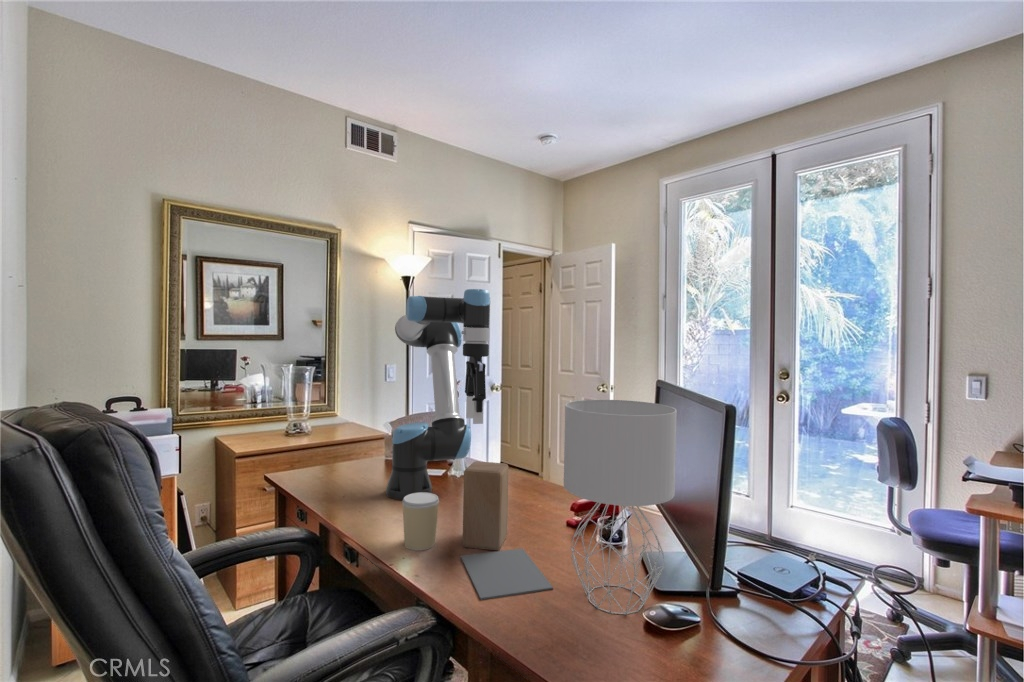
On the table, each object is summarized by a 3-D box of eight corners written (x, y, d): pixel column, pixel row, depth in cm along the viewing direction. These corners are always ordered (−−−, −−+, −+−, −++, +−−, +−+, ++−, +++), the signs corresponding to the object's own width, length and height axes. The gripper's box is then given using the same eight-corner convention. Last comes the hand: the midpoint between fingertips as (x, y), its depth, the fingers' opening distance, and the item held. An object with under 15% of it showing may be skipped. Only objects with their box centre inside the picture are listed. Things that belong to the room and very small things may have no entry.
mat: (460, 557, 119) (460, 555, 119) (522, 549, 124) (522, 548, 124) (480, 600, 100) (480, 598, 100) (553, 589, 105) (553, 587, 105)
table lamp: (561, 569, 114) (565, 398, 114) (659, 576, 112) (664, 401, 111) (560, 626, 92) (565, 412, 91) (684, 636, 89) (689, 417, 89)
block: (499, 552, 122) (501, 472, 122) (461, 548, 124) (462, 469, 124) (507, 536, 132) (509, 462, 132) (472, 532, 134) (473, 460, 134)
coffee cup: (444, 539, 129) (445, 494, 129) (427, 554, 120) (428, 505, 120) (413, 534, 132) (414, 490, 132) (394, 548, 123) (395, 500, 123)
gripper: (456, 341, 151) (454, 415, 151) (471, 343, 131) (469, 428, 131) (479, 342, 153) (478, 414, 153) (498, 343, 133) (496, 427, 133)
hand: (474, 420), depth 142 cm, fingers open, 8 cm apart
